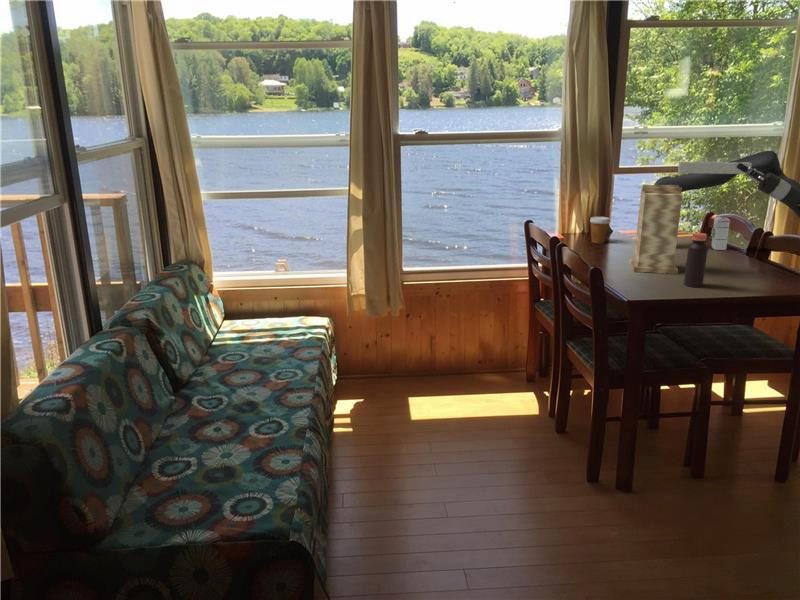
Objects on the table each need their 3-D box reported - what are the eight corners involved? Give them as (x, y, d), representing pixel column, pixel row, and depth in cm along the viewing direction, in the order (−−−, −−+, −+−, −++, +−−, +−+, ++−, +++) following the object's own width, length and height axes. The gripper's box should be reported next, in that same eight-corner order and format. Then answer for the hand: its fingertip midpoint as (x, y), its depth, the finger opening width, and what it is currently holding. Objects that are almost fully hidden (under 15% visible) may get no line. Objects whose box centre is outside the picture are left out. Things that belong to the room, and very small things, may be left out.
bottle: (687, 287, 251) (694, 236, 245) (680, 282, 258) (687, 232, 252) (705, 287, 251) (712, 235, 245) (698, 282, 258) (705, 232, 252)
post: (670, 264, 284) (680, 184, 273) (677, 274, 270) (688, 189, 259) (629, 263, 287) (637, 183, 277) (633, 272, 273) (642, 188, 263)
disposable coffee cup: (610, 244, 323) (612, 219, 319) (591, 244, 323) (593, 219, 319) (605, 239, 332) (607, 216, 328) (586, 239, 332) (587, 216, 329)
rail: (747, 172, 262) (748, 162, 261) (750, 173, 258) (751, 163, 257) (677, 172, 267) (679, 161, 266) (679, 173, 263) (681, 163, 262)
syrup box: (726, 250, 309) (731, 219, 305) (713, 249, 310) (717, 219, 306) (723, 247, 315) (727, 217, 310) (710, 246, 316) (714, 216, 311)
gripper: (774, 176, 265) (737, 154, 265) (787, 180, 252) (748, 157, 252) (762, 192, 268) (725, 170, 268) (773, 197, 254) (735, 174, 255)
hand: (736, 164), depth 260 cm, fingers closed on rail, 4 cm apart
